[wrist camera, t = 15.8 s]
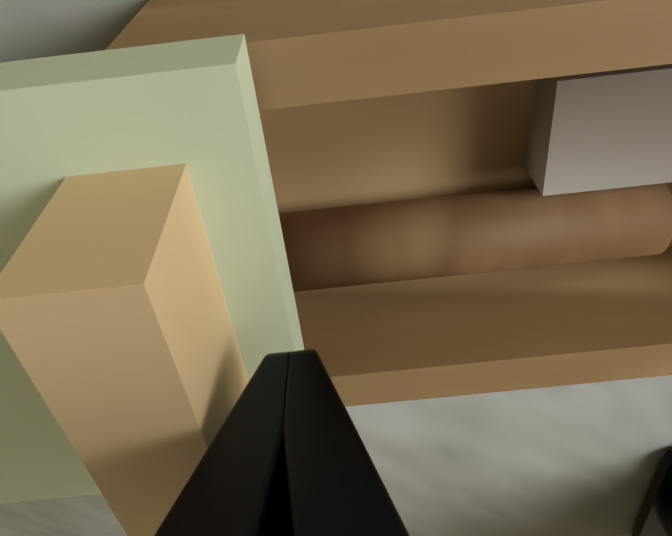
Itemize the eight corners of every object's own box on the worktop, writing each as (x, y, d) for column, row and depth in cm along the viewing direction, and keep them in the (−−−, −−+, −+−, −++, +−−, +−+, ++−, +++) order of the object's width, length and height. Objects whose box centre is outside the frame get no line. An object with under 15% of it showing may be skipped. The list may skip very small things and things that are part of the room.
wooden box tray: (749, 249, 16) (859, 356, 13) (238, 301, 16) (221, 418, 13) (889, -96, 11) (1124, -60, 8) (155, -7, 11) (96, 60, 8)
